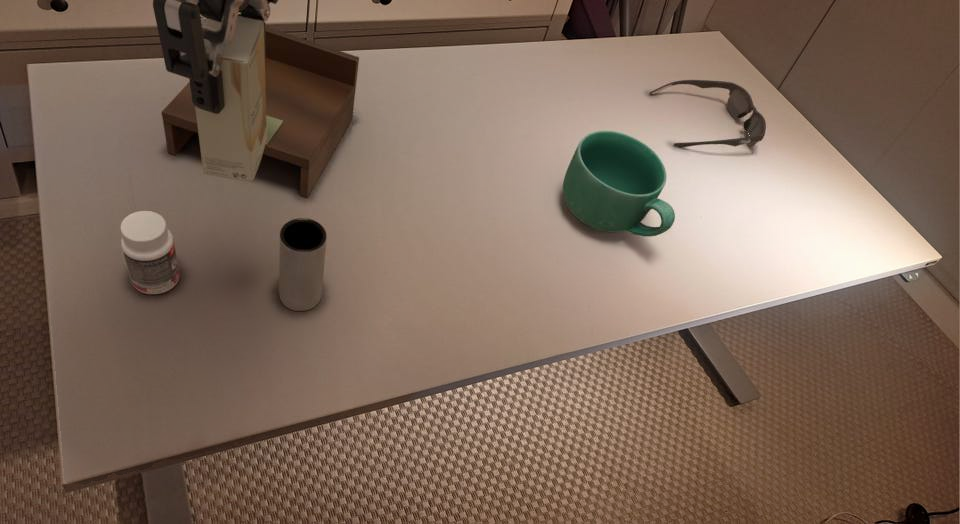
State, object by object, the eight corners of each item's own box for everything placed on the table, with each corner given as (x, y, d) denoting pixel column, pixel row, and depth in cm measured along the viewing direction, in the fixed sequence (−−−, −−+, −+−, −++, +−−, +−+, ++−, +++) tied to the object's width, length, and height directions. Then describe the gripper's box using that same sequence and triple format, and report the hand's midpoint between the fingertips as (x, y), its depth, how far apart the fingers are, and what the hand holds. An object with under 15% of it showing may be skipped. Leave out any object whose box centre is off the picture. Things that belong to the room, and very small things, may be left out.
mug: (537, 190, 93) (559, 139, 86) (601, 171, 100) (626, 122, 93) (609, 276, 86) (639, 228, 79) (673, 249, 92) (706, 202, 85)
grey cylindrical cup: (293, 318, 71) (295, 258, 63) (271, 289, 73) (270, 227, 65) (329, 300, 73) (335, 240, 66) (307, 273, 75) (310, 211, 67)
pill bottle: (186, 286, 70) (177, 235, 64) (139, 301, 68) (125, 250, 62) (171, 255, 72) (161, 202, 66) (124, 268, 70) (110, 215, 64)
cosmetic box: (253, 184, 57) (248, 65, 48) (201, 175, 56) (185, 54, 47) (268, 136, 61) (266, 18, 52) (220, 127, 60) (208, 6, 51)
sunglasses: (763, 159, 112) (777, 137, 108) (672, 160, 109) (682, 136, 105) (728, 98, 122) (739, 76, 118) (643, 97, 119) (652, 74, 115)
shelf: (307, 198, 82) (310, 133, 74) (167, 153, 81) (156, 83, 74) (352, 120, 94) (359, 57, 86) (230, 80, 93) (226, 12, 85)
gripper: (218, -74, 36) (235, 151, 48) (318, -155, 45) (310, 52, 58) (85, -119, 36) (137, 119, 48) (213, -191, 45) (228, 24, 58)
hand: (231, 82), depth 53 cm, fingers closed on cosmetic box, 7 cm apart
